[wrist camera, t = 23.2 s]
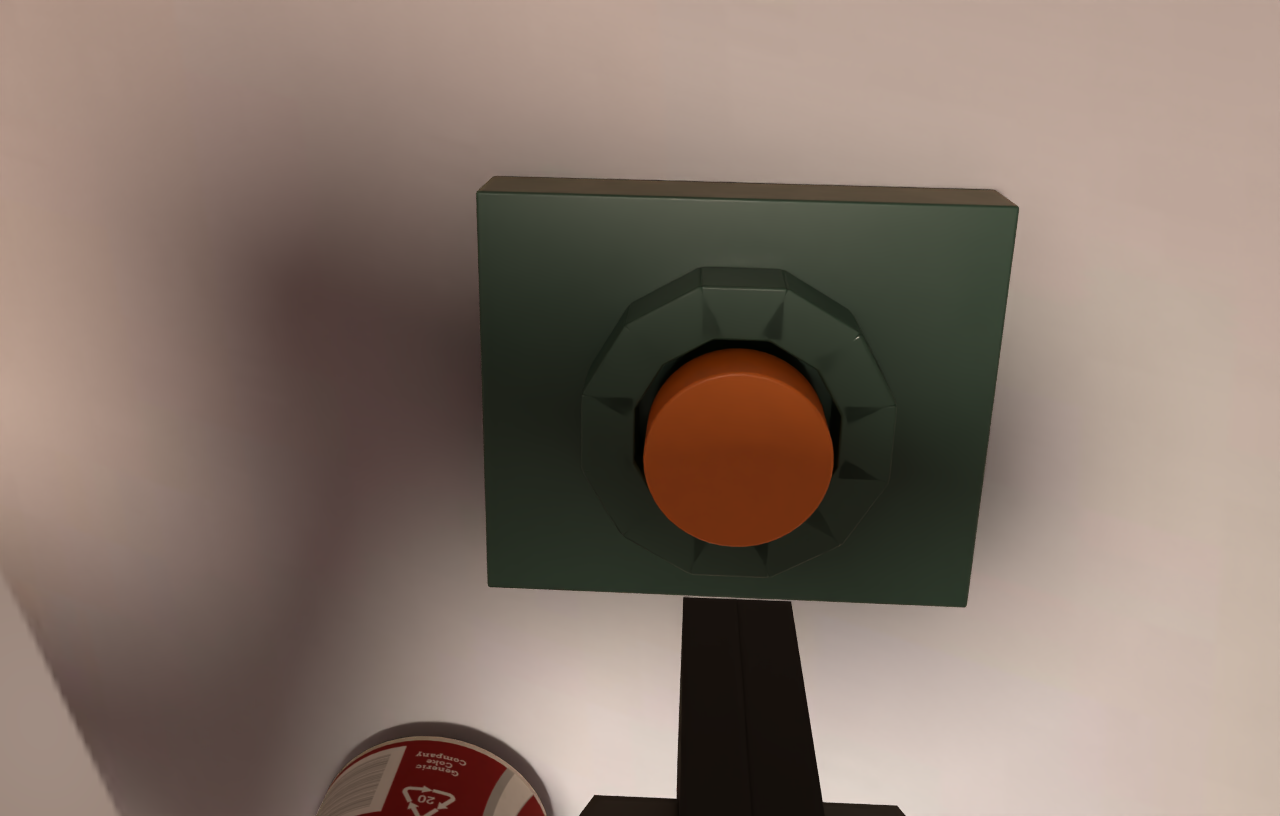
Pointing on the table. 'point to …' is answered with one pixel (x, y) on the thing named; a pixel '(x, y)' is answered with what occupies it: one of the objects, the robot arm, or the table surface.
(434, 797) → the soda can
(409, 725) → the table surface
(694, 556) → the button box
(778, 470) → the button
